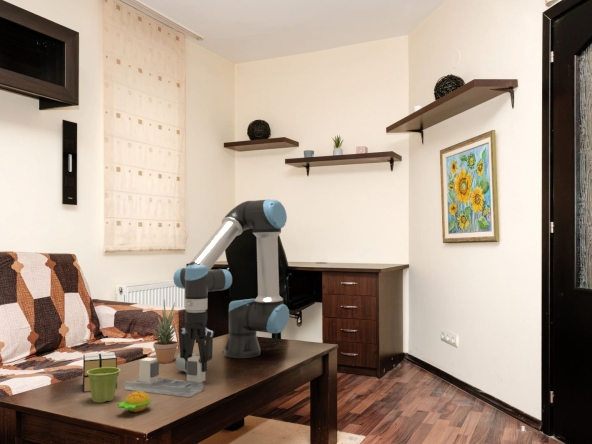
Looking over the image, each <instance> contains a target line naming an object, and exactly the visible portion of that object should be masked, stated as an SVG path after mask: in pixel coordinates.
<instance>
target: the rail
mask: <svg viewBox="0 0 592 444" xmlns="http://www.w3.org/2000/svg"><path fill="white" fill-rule="evenodd" d="M124 390H126V391H133V392H135V391H136V392H137V391H143V392H145V393H152V394H161V395H167V396H174V397H175V396H177V397H183V398H192V397H193V396H195V395H196V394H199V393H201V392H202V391H204V381H203V382H194V381H187V380H182V379H174V378H165V377H157V381H156V382H153V383H151V384H148V383H139V378H137V379H136V380H133V381H129V380H126V381H124Z"/></svg>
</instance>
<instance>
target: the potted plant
mask: <svg viewBox="0 0 592 444" xmlns="http://www.w3.org/2000/svg"><path fill="white" fill-rule="evenodd" d="M175 305H176V302H174V303H173V305H172V307H171V311H170V312H169V315H168V316H167V313H166V301H165V299H163V309H162V310H161V311H162V313H161V314H162V320H161V318H160V316H157V320H158V322H159V324H157V330H158V332H157V331H156V330H155V329H154V328H152V330H153V332H154V333H155V334H154V336H155V337H156V338H157V340H156V342H153V346H152V347H153V349H154V351H155V356H156V358H157V361H159V364H160V363H161V364H165V363H166V364H167V363H171V362H174V358H175V355H176V352H177V348H178V347H179V342H178V341H176V340H174V336H175V334H174V333H175V332H176V330H177V328H176V324H177V323H178V322H177V321H176V322H175V323H174V324H173V325H172V323H173V320H174V309H175Z"/></svg>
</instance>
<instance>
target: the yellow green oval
mask: <svg viewBox="0 0 592 444" xmlns="http://www.w3.org/2000/svg"><path fill="white" fill-rule="evenodd" d="M151 402H152V398H151V397H150V395H149V393H148V392H143V391H133V392H131V393H130V394H128V395H127V397H126V398H125V400H124V401H123V402H119V403H117V404H116V406H118V407H117V408H118V409H124V410H128V411H130V412H133V413H138V412H143V411H145V409H147V408H148V406H149V405H150V403H151Z"/></svg>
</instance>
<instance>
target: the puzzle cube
mask: <svg viewBox="0 0 592 444" xmlns="http://www.w3.org/2000/svg"><path fill="white" fill-rule="evenodd" d="M82 365H83V369H82V370H83V371H82V392H83V393H89V392H90V391H91V387H90V379H89V377H88V374H87V371H88V370H91V369H95V368H103V367H115V368H118V357H117V354H116V352H115V351H113V352H112V351H110V352H100V353H99V352H98V353H97V352H96V353H85V354H83V364H82ZM117 383H118V381H117V382H116V388H115V390H116V389H117V387H118V384H117Z"/></svg>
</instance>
